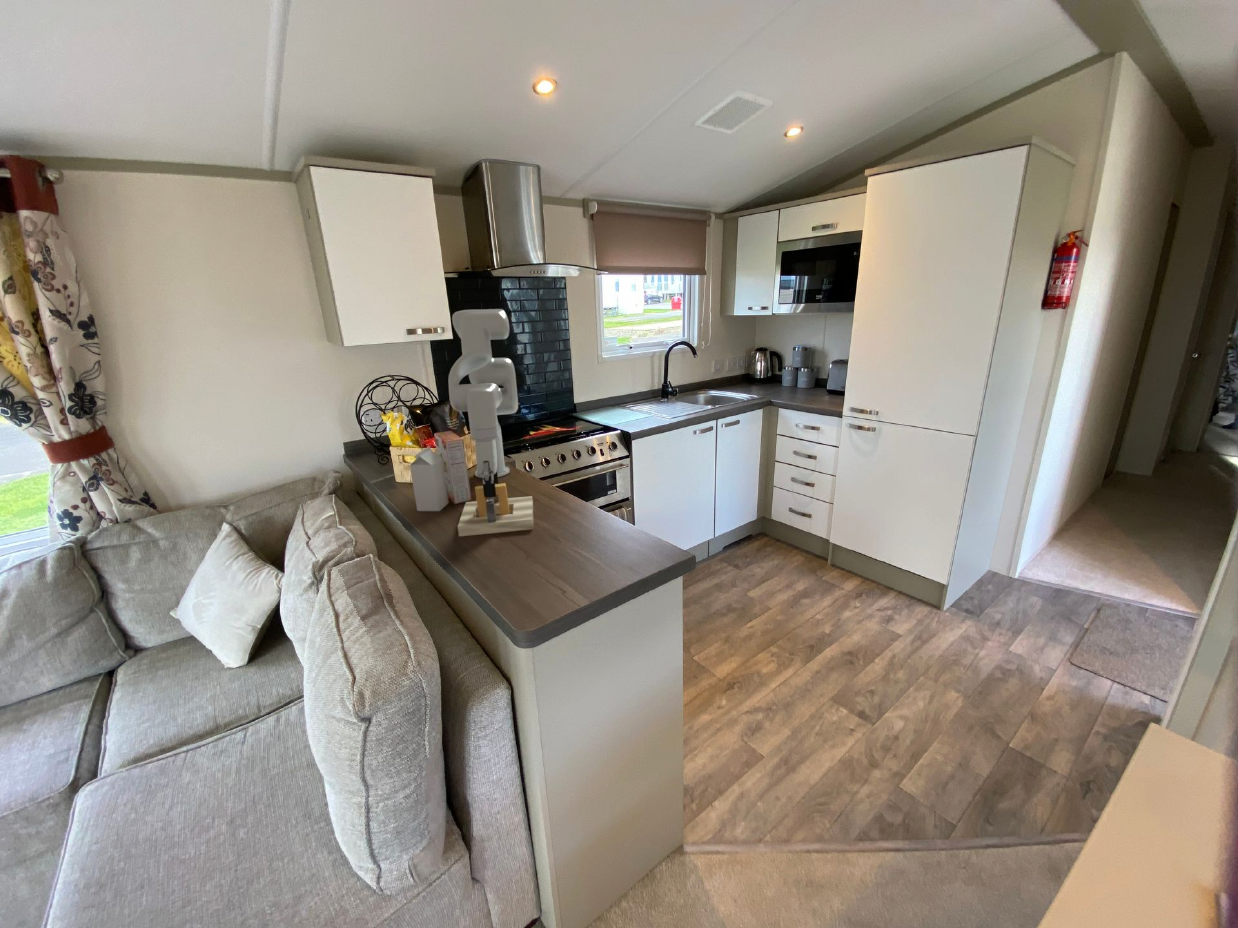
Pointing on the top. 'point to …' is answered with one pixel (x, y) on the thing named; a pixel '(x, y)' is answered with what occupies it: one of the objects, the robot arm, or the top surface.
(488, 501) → the square frame with handle
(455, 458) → the cracker box
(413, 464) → the milk carton
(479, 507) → the tan wooden block
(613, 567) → the top surface
